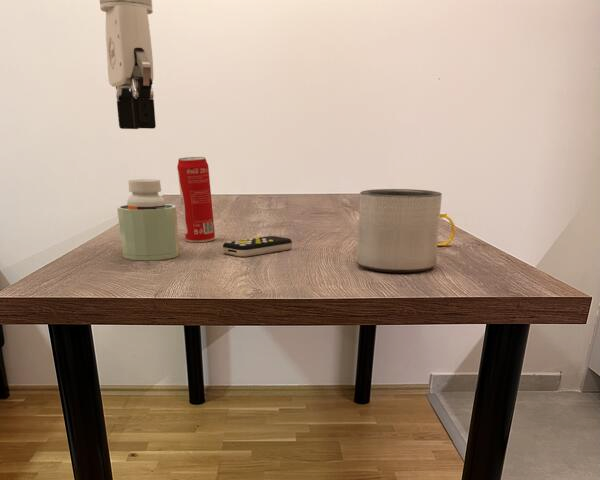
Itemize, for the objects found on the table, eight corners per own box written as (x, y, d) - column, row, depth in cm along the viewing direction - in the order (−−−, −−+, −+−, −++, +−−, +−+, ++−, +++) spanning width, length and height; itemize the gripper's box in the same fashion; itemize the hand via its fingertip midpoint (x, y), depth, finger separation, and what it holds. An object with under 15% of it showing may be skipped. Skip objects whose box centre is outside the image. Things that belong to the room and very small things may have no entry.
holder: (138, 262, 104) (133, 211, 100) (113, 254, 110) (107, 205, 107) (189, 256, 109) (185, 207, 106) (162, 249, 116) (158, 202, 112)
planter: (411, 257, 109) (416, 188, 104) (450, 271, 98) (459, 194, 93) (343, 262, 105) (346, 189, 100) (377, 277, 94) (382, 197, 89)
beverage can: (219, 238, 127) (215, 156, 120) (206, 244, 121) (201, 158, 114) (192, 237, 128) (186, 156, 122) (177, 242, 122) (171, 157, 116)
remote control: (295, 249, 116) (295, 237, 115) (242, 258, 108) (242, 245, 107) (272, 245, 120) (272, 234, 119) (219, 253, 112) (218, 241, 111)
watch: (451, 245, 121) (455, 212, 118) (454, 247, 118) (457, 213, 116) (420, 244, 121) (422, 211, 119) (421, 247, 119) (424, 213, 116)
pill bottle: (126, 253, 107) (117, 181, 102) (141, 247, 113) (134, 178, 108) (160, 254, 106) (153, 181, 101) (174, 248, 111) (168, 179, 107)
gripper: (88, 6, 99) (101, 128, 106) (113, -15, 85) (126, 127, 92) (136, 11, 102) (146, 129, 109) (167, -9, 88) (176, 128, 95)
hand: (137, 128), depth 101 cm, fingers open, 9 cm apart
